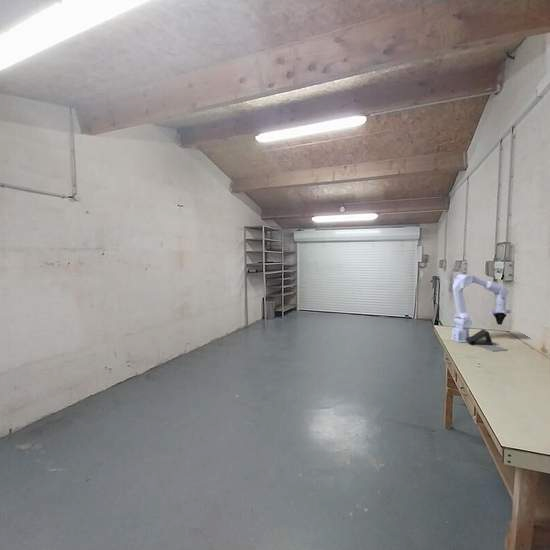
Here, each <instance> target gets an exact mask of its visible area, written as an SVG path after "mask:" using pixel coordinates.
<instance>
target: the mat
mask: <svg viewBox="0 0 550 550" xmlns="http://www.w3.org/2000/svg"><path fill="white" fill-rule="evenodd" d="M474 346H476V347H479V348H481V349H482V348H483V349H485V350H487V351H491V352H493V353H494V352H503V351H505V352H506V351H508V350H509V349H507V348H504V347H502V346H498V345H495V344H493V345H479V344H475V345H474Z"/></svg>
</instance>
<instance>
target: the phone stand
mask: <svg viewBox="0 0 550 550" xmlns="http://www.w3.org/2000/svg"><path fill="white" fill-rule="evenodd" d="M483 338H485V339H483ZM467 341H468V342H467ZM465 343H468V344H470V345H471V346H476V345H475V344H479V345H494V343H493V341H492V338H491V335H490V332H489V331H488V330H486V329H481V330H480V331H478V332H476V333H474V334H473V335H472V336H469V338H467V339H466V342H465Z"/></svg>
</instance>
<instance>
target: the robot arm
mask: <svg viewBox="0 0 550 550" xmlns="http://www.w3.org/2000/svg"><path fill="white" fill-rule="evenodd" d="M471 284H476V285H480V286H482V287H483V289H484V290H487V291H489V292H492V293H493V294H494V307H493V308H494V309H493V310H489V311H488V315H493V317H494V319H495V320H496V323H497V325H498V326H502V324H503V323H504V320H505V318H506V317H507V314H511V311H512V310H509V309H506V302H507V301H506V300H507V299H506V298H507V295H508V293H509V290H508V288H507V287H506V286H503V285H501V284H499V283H495V282H494V281H493V280H490V281H489V280H488V281H485V280H483V279H481V278H480V277H477V276H474V275H470V274H463V273H458V274H457V275H456V276H454V277H453V284H452V294H453V300H454V307H455V311H456V313H455V314H454V318H453V323H454V324H455V327H453V328H452V329H451V338H450V340H452V341H455V342H458V343H468V341H467V342H466V339H467V338H470V327H472V320H471V319H470V316H469V315H468V314H467V310H466V303H465V297H464V292H463V291H464V289H465V288H466V287H468V286H469V285H471Z"/></svg>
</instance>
